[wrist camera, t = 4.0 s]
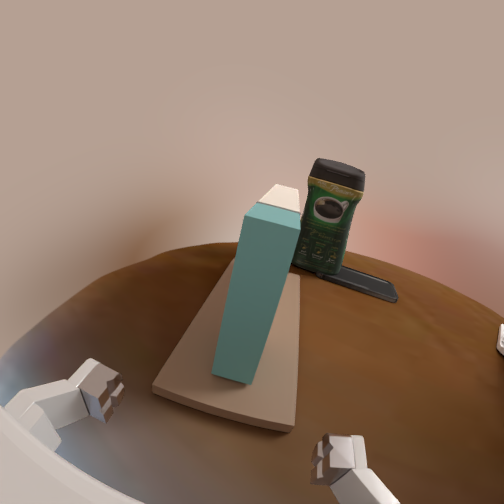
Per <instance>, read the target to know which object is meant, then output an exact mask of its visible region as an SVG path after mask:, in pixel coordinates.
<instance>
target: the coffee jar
mask: <svg viewBox="0 0 504 504" xmlns="http://www.w3.org/2000/svg"><path fill="white" fill-rule="evenodd" d="M364 184H365V174H364V172H363V171H361V170H359V169H357V168H355V167H353V166H350V165H347V164H344V163H341V162H336V161H333V160H327V159H320V158H318V159H316V161H315V163H314V165H313V168H312V170H311V172H310V175H309V177H308V196H307V201H306V204H305V208H304V211H303V214H302V217H301V220H300V228H301V230H300V234H299V237H298V241H297V244H296V248H295V251H294V255H293V258H292V261H291V263H292V264H294V265H296V266H299V267H301V268H303V269H306V270H309V271H312V272H315V273H317V272H321V273H323V274H326V275H337V274H338V273H339V271H340V268H341V265H342V262H343V258H344V254H345V249H346V244H347V239H348V235H349V230H350V226H351V222H352V218H353V214H354V211H355V208H356V205H357V204H358V203H359V201H360V200H361V198H362V196H363V193H364Z"/></svg>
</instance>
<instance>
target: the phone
mask: <svg viewBox="0 0 504 504" xmlns="http://www.w3.org/2000/svg"><path fill="white" fill-rule="evenodd" d="M316 275H317V276H318V277H319V278H321V279H324V280H327V281H330V282H333V283H336V284H339V285H342V286H345V287H348V288H351V289H354V290H357V291H360V292H363V293H366V294H369V295H372V296H375V297H378V298H381V299H384V300H387V301H390V302H393V303H396V302H397V300H398V295H397V292H396V290H395V287H394V285H393V284H392V283H391V282H389V281H386V280H383V279H380V278H377V277H374V276H371V275H369V274H366V273H363V272H360V271H357V270H354V269H351V268H348V267H345V266H342V265H341V268H340V271H339V273H338V274H337V275H326V274H323V273H321V272H317V273H316Z"/></svg>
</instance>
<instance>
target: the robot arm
mask: <svg viewBox="0 0 504 504" xmlns="http://www.w3.org/2000/svg"><path fill="white" fill-rule="evenodd" d="M497 349H498V350H499V351H500V352H501V353H502V354H503V355H504V324H501V326H500V327H499V335H498V342H497ZM122 380H123V377H122V374H120V373H118V372H116V371H114V370H112V369H110V368H109V367H107V366H105V365H103V364H101V363H99V362H97V361H96V360H94V359H92V358H90V359H87V360H86V361H85V362H84V363H83V364H82V365H81V366H80V367H79V369H78V370H77V371H76V372H75V373H74V374H73V375H72V376H71V377H70V378H69V379H68V380H65V379H63V380H60V381H56V382H52V383H48V384H44V385H40V386H36V387H31V388H27V389H23V390H20V391H19V392H18V393H17V394H16V395H15V396H14V397H13V398H12V399H11V400H10V401H9V403H8V404H7V405H6V406H5V407H4V408H3V407H2V406H1V405H0V504H145V503H143V502H140V501H138V500H136V499H134V498H131V497H129V496H127V495H125V494H123V493H121V492H119V491H117V490H115V489H113V488H111V487H109V486H107V485H106V484H104V483H102V482H100V481H98V480H97V479H95V478H93V477H91V476H90V475H88V474H86V473H85V472H83V471H82V470H80V469H78V468H77V467H75V466H74V465H72V464H71V463H69V462H68V461H66V460H65V459H63V458H62V457H61V456H59V455H58V454H56V453H55V450H56V449H57V447H58V446H59V444H60V443H61V438H60V437H59V435H58V434H57V432H56V430H57V429H59V428H61V427H64V426H66V425H69V424H71V423H73V422H76V421H78V420H80V419H83V418H85V417H87V416H89V415H91V416H93V417H95V418H97V419H99V420H100V421H102V422H104V423H107V422H108V420H109V419H110V417H111V416H112V414H113V413H114V412H113V407H116V406H119V404H120V403H121V401H122V399H123V396H124V391H125V390H124V386H123V384H122V383H121V381H122ZM311 462H312V463H313V465H314V466H315V467H314V468H313V469H312V470H311V482H310V484H315V485H327V486H330V488H331V490H332V492H333V493H334V495H335V497H336V498H337V500H338V502H339V503H340V504H400V502H399V501H398V500H397V499H396V498H395V497H394V496H393V494H392V493H391V492H390V491H389V490H388V489H387V488H386V486H385V485H384V484H383V483H382V482H381V481H380V479H379V478H378V477H377V476H376V475H375V473H374V472H373V471H372V470H371V469H367V461H366V452H365V444H364V438H363V437H362V436H358V435H346V434H333V433H326V434H325V435H324V436H323V437H322V441H321V442H318V443H317V444H316V446H315V447H314V450H313V453H312V461H311Z"/></svg>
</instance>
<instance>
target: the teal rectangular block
mask: <svg viewBox="0 0 504 504" xmlns="http://www.w3.org/2000/svg"><path fill="white" fill-rule="evenodd" d="M300 230H301V228H300V213H299V212H295V211H291V210H287V209H284V208H280V207H276V206H272V205H268V204H264V203H260V202H257V203H256V204H255V205H254V206H253V207H252V208H251V209H250V210H249V211H248V212H247V213H246V214H245V216H244V220H243V224H242V229H241V234H240V238H239V243H238V247H237V252H236V256H235V261H234V266H233V270H232V275H231V280H230V284H229V289H228V294H227V299H226V303H225V308H224V313H223V318H222V323H221V328H220V333H219V337H218V342H217V347H216V352H215V357H214V362H213V367H212V372H211V374H214V375H218V376H221V377H224V378H228V379H231V380H235V381H238V382H242V383H245V384H249V385H251V384H252V382H253V379H254V376H255V373H256V370H257V367H258V364H259V362H260V359H261V356H262V353H263V350H264V347H265V344H266V341H267V338H268V335H269V332H270V329H271V326H272V323H273V320H274V316H275V313H276V310H277V307H278V304H279V301H280V297H281V294H282V291H283V288H284V285H285V281H286V278H287V275H288V271H289V268H290V265H291V261H292V258H293V255H294V251H295V248H296V244H297V241H298V237H299V234H300Z"/></svg>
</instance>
